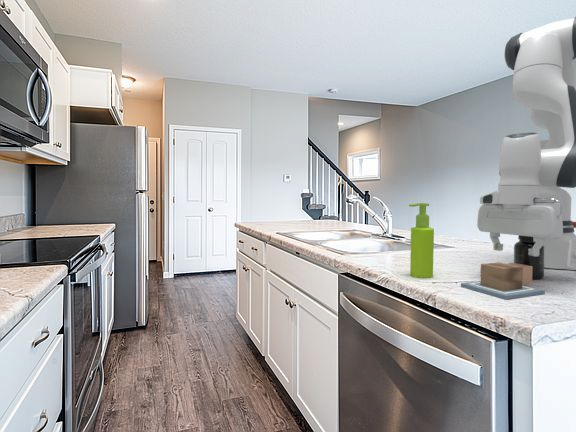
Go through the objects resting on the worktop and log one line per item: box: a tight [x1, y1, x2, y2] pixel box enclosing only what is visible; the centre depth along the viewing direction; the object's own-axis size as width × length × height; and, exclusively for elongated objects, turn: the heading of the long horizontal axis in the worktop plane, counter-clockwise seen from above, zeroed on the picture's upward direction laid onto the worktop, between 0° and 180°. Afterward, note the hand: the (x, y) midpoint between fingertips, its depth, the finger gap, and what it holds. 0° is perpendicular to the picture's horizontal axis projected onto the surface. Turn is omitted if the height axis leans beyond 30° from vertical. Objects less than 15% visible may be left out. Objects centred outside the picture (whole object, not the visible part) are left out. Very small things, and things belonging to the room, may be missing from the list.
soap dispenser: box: [408, 202, 435, 279], centre depth 99 cm, size 6×7×20 cm
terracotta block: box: [507, 262, 533, 286], centre depth 92 cm, size 5×5×4 cm
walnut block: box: [480, 261, 523, 291], centre depth 84 cm, size 6×6×5 cm
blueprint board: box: [460, 280, 546, 301], centre depth 85 cm, size 12×12×1 cm
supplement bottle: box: [513, 235, 545, 280], centre depth 98 cm, size 7×7×12 cm
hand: (514, 253), depth 91 cm, fingers open, 8 cm apart
